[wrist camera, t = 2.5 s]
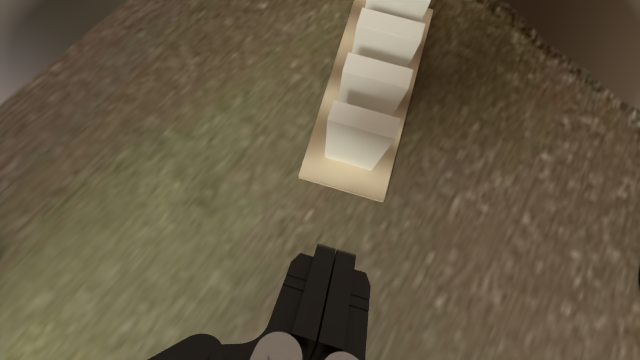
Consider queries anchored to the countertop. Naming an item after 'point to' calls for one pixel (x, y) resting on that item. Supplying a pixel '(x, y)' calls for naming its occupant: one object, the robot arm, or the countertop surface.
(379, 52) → the tile
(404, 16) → the tile
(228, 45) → the countertop surface
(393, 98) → the tile
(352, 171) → the domino board
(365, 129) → the tile
